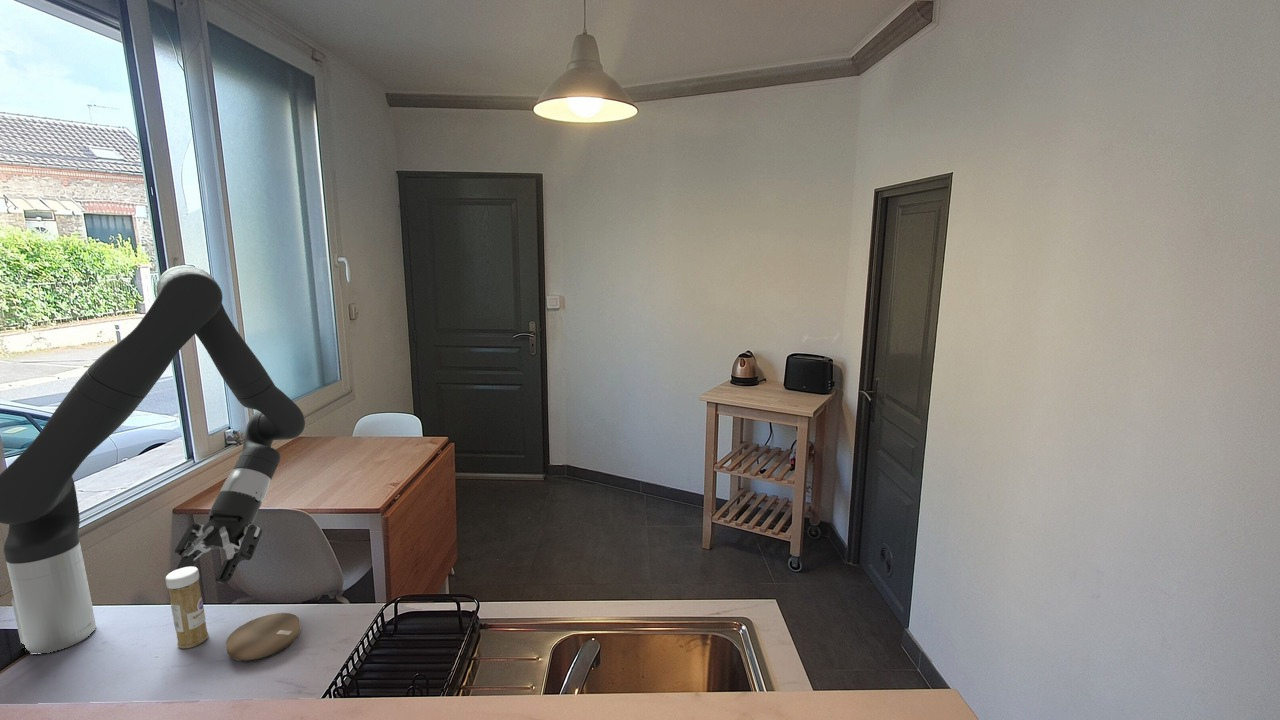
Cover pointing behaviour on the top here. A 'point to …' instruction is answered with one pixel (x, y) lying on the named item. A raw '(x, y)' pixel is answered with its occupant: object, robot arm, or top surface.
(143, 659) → the top surface
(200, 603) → the sprinkles bottle
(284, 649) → the turntable base
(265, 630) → the disc
